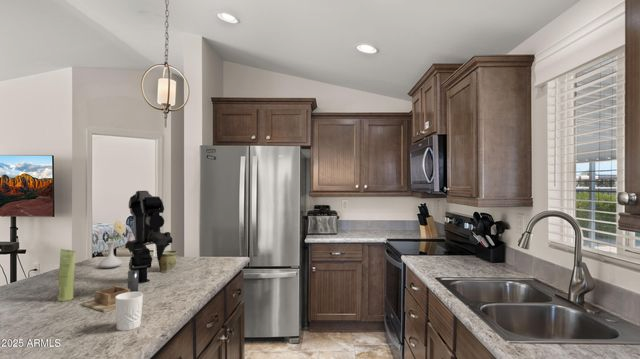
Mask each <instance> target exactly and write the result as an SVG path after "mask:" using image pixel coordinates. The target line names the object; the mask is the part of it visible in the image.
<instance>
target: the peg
mask: <svg viewBox="0 0 640 359" xmlns="http://www.w3.org/2000/svg"><path fill="white" fill-rule="evenodd" d="M138 278H139V270H130V269H128V271H127V289H130V292H139V284H138Z"/></svg>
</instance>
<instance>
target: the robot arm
mask: <svg viewBox="0 0 640 359" xmlns="http://www.w3.org/2000/svg"><path fill="white" fill-rule="evenodd" d="M128 209H129V213H130V214H131V215H132V217H133V218H134V220H133V221H134V225H133V226H134V240H128V241H126V242H125V246H124V248H125V249H128V251H130V252H131V256H130V259H129V263H128V270H139V278H138V285H139V284H143V283H145V282H147V283H148V282H150V281H151V279H148V269H151V268H152V264H153V263H152V262H153V257H152V254H151V250H150V248H148V247H147V246H149V245H155V249H156V250H155V251H156V259H157V261H158V260H160V259H161V257H162V254H163V252H164V251H166V248H167V247H168V246H170V244H172V243H173V237H172V236H171V232H169V231H165V232H161V228H162V227H163V226H164V224H165V219H164V216H162V215H161V214H163V213H164V210H165V206H164V202H163V200H162V198H160V196H157V195H156V196H153V195H152V194H150V192H149V190H137V191H136V192H135V194H133V195H132V196H130V198H129V201H128Z"/></svg>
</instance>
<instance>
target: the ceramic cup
mask: <svg viewBox="0 0 640 359" xmlns="http://www.w3.org/2000/svg"><path fill="white" fill-rule="evenodd" d="M178 254H179V252H178V250H174V249H172V250H169V249H168V250H164V252H163V254H162V257H161V259H160V260H158V259H157V261H158V268H159V272H160V273H167V274H168V273H172V272H174V271H175V268H176V263H177V259H178Z"/></svg>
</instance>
